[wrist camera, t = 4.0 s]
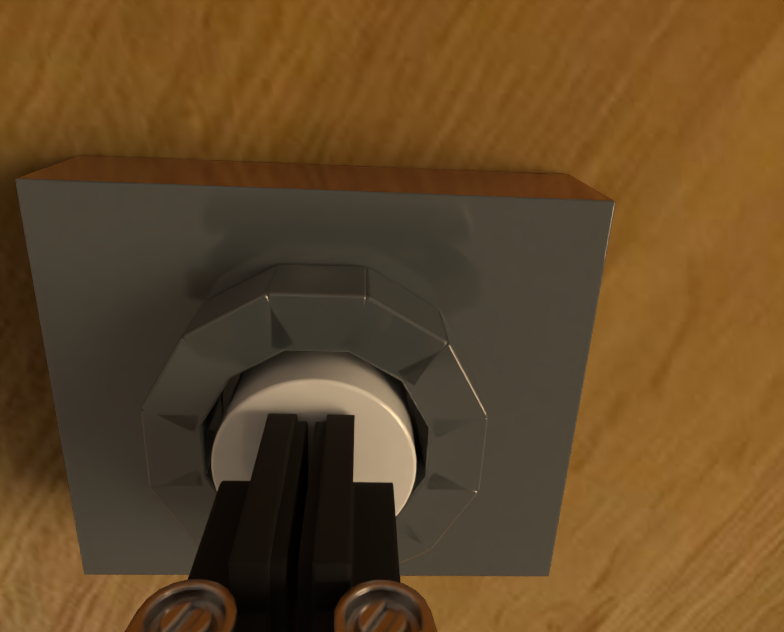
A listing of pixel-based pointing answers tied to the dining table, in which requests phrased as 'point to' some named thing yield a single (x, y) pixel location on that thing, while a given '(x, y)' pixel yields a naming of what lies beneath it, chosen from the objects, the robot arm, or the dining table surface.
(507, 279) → the push button box
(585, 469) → the dining table surface
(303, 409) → the white push button
